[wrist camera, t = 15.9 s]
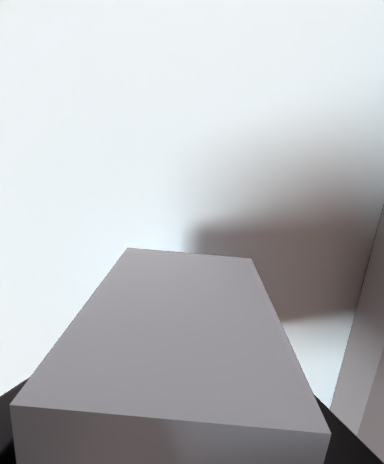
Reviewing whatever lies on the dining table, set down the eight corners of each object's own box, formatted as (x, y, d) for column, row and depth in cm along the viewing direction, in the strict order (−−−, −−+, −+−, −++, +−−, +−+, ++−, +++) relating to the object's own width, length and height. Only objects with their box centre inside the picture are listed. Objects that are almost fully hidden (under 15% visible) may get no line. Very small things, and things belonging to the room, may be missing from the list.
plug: (236, 362, 10) (279, 624, 5) (125, 352, 10) (32, 601, 5) (251, 258, 9) (330, 433, 4) (127, 247, 9) (9, 403, 4)
